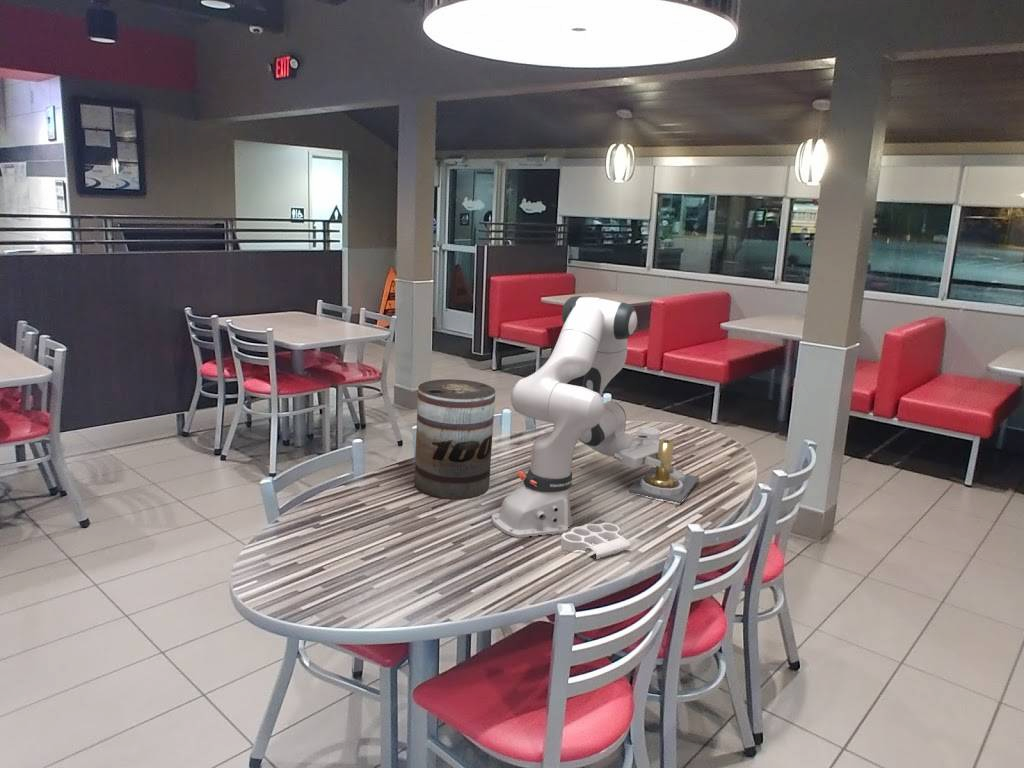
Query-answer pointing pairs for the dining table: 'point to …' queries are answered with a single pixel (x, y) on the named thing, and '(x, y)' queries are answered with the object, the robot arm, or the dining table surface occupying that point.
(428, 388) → the barrel
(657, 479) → the gold metal upright post
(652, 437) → the white cup
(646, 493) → the board
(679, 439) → the dining table surface
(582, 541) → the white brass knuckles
